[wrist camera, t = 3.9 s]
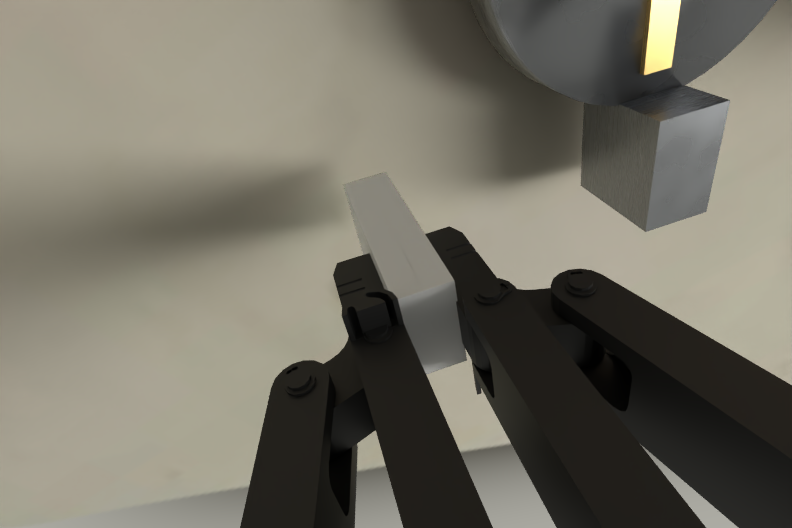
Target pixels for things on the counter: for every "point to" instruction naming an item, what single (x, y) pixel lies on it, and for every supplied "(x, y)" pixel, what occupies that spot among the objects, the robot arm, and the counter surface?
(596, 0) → the turntable
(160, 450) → the counter surface
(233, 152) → the counter surface
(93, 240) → the counter surface
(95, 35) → the counter surface
